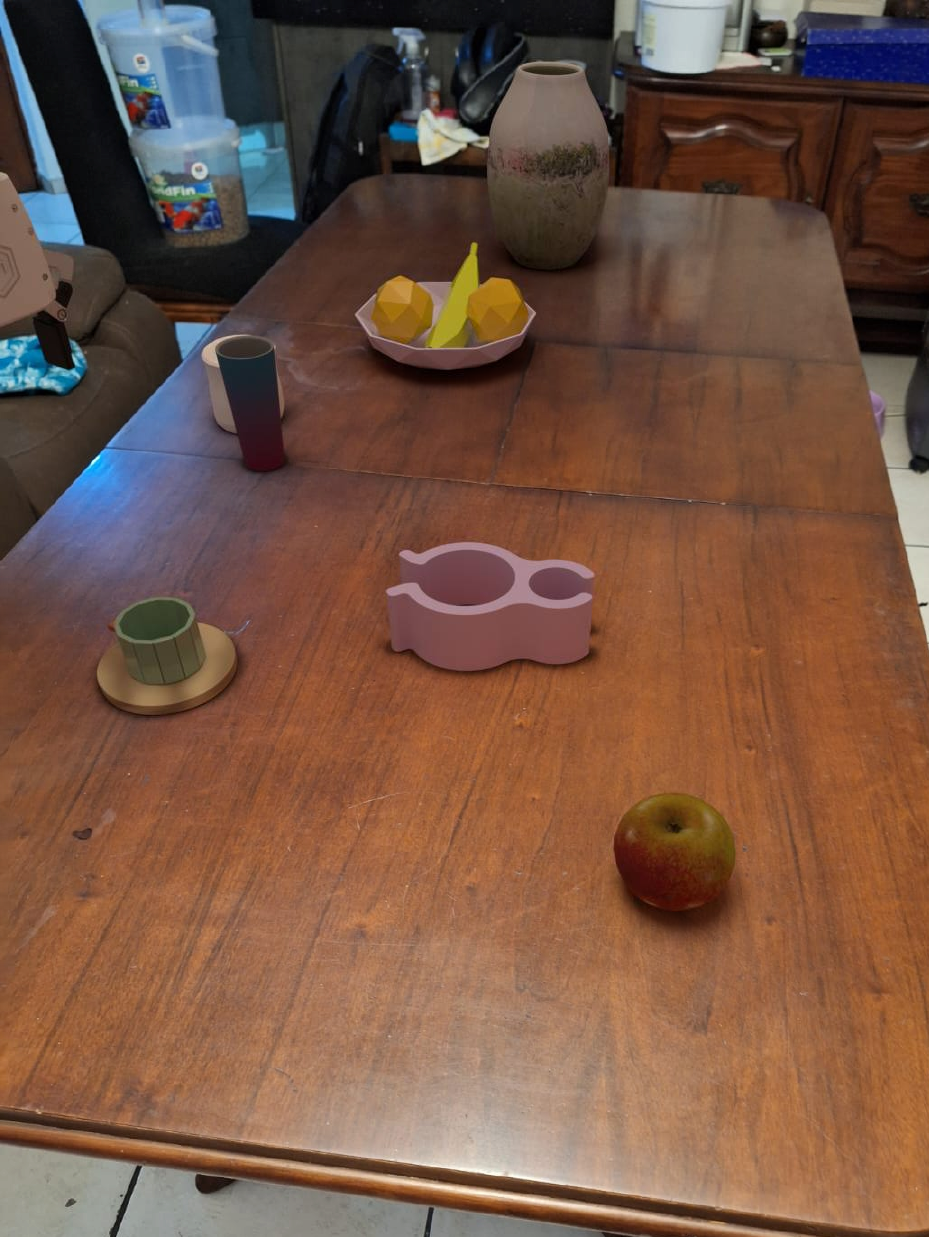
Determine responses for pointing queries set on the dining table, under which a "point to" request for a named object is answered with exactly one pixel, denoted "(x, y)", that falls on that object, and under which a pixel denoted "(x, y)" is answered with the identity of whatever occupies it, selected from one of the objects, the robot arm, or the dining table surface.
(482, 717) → the dining table surface
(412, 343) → the fruit bowl
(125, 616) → the green mug
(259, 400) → the cup
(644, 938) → the dining table surface
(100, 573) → the dining table surface
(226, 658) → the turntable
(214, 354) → the cup
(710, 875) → the fruit
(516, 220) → the vase
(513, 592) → the clip
